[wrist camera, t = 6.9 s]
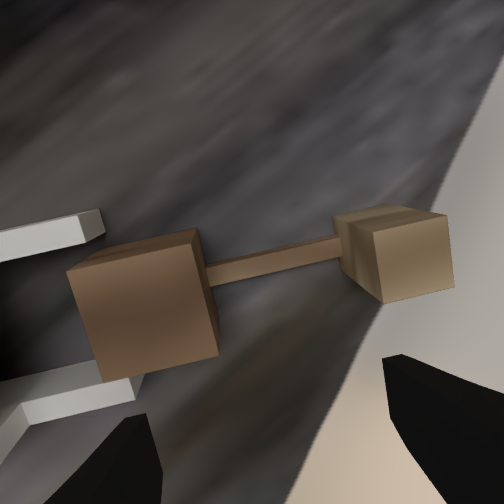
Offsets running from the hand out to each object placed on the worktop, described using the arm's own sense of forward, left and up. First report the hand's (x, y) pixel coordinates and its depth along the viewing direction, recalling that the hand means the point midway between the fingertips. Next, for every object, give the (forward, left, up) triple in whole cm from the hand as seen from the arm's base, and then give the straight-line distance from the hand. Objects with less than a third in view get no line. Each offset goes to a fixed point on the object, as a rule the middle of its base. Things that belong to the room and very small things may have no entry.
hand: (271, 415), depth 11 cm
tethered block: (+2, -1, -10) cm, 10 cm away
